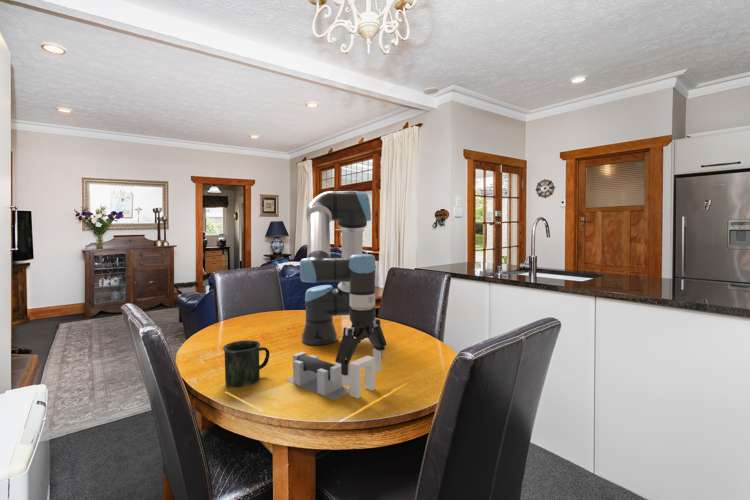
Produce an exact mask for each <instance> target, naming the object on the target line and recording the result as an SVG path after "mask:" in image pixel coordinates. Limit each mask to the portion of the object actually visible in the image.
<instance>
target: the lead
mask: <svg viewBox="0 0 750 500" xmlns="http://www.w3.org/2000/svg"><path fill="white" fill-rule="evenodd" d="M296 360H299V361H302V362H303V368H304V369H307V370H310V371H312V372H315V373H317V370H318V369H321V368H322V369H325V370H328V377H329V378H330V381H331V382H334V383H335V382H337V381H340V380H342V374H341V364H340V363H339V364H338V365H335V364H333V363H331V362H328V361H325V360H322V359H319V358H318V359H316V358H313V357H310V355H307V352H305V351H300V352H297V353H294V354H292V362H293V361H296Z"/></svg>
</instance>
